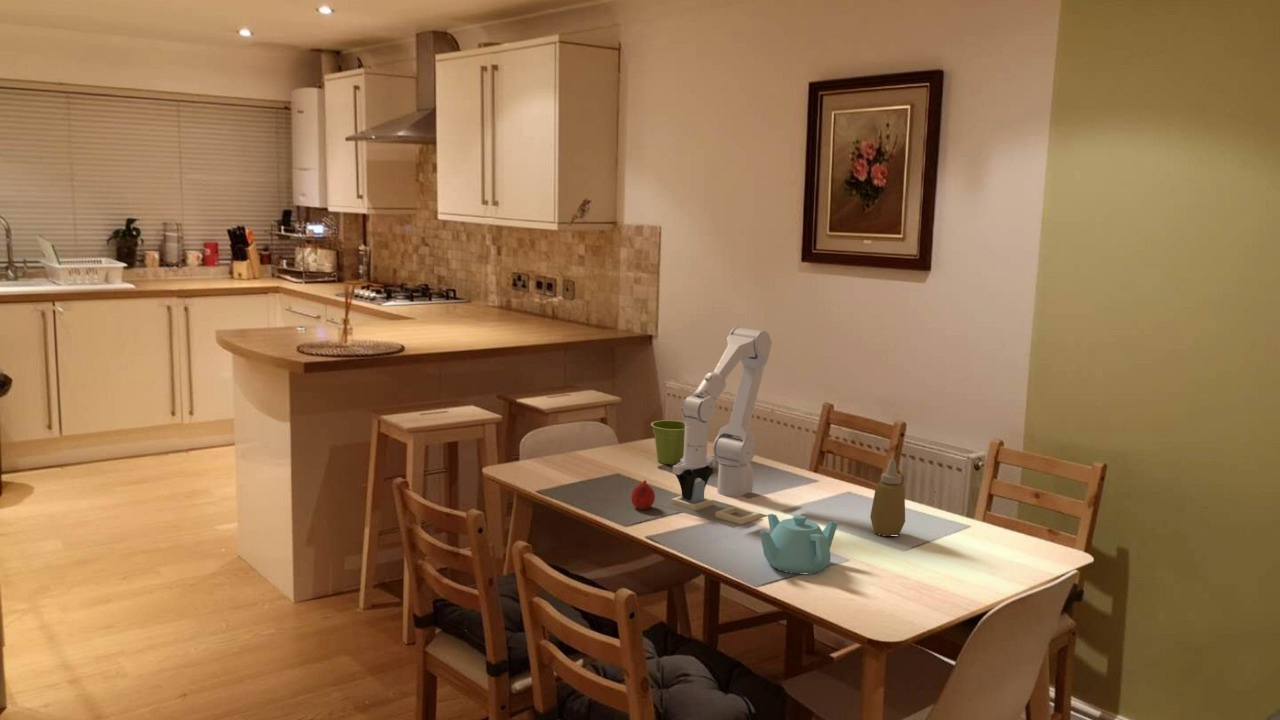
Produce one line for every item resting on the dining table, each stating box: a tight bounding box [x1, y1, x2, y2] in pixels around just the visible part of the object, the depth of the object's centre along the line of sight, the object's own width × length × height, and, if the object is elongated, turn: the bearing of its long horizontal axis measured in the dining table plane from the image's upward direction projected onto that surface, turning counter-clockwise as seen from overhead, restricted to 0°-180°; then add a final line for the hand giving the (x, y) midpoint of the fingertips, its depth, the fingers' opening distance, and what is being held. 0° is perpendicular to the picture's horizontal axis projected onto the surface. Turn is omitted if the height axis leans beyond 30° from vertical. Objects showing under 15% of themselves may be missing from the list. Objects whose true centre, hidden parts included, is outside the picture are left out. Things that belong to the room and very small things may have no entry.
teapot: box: [759, 513, 839, 574], centre depth 215 cm, size 15×15×11 cm
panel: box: [662, 495, 768, 529], centre depth 248 cm, size 14×22×2 cm, turn 48°
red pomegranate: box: [630, 479, 656, 511], centre depth 248 cm, size 6×6×8 cm
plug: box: [680, 478, 706, 504], centre depth 252 cm, size 4×4×7 cm
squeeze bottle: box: [870, 458, 906, 537], centre depth 238 cm, size 8×8×18 cm
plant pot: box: [650, 419, 685, 466], centre depth 296 cm, size 12×12×11 cm
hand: (692, 497), depth 253 cm, fingers closed on plug, 4 cm apart
